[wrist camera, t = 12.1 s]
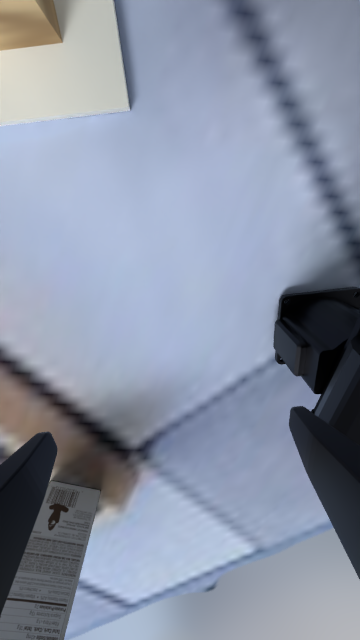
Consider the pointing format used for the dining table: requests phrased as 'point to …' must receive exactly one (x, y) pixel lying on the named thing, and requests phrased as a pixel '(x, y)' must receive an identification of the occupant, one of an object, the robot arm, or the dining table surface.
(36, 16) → the wood cube
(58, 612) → the coffee box
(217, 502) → the dining table surface
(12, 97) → the cream pad
